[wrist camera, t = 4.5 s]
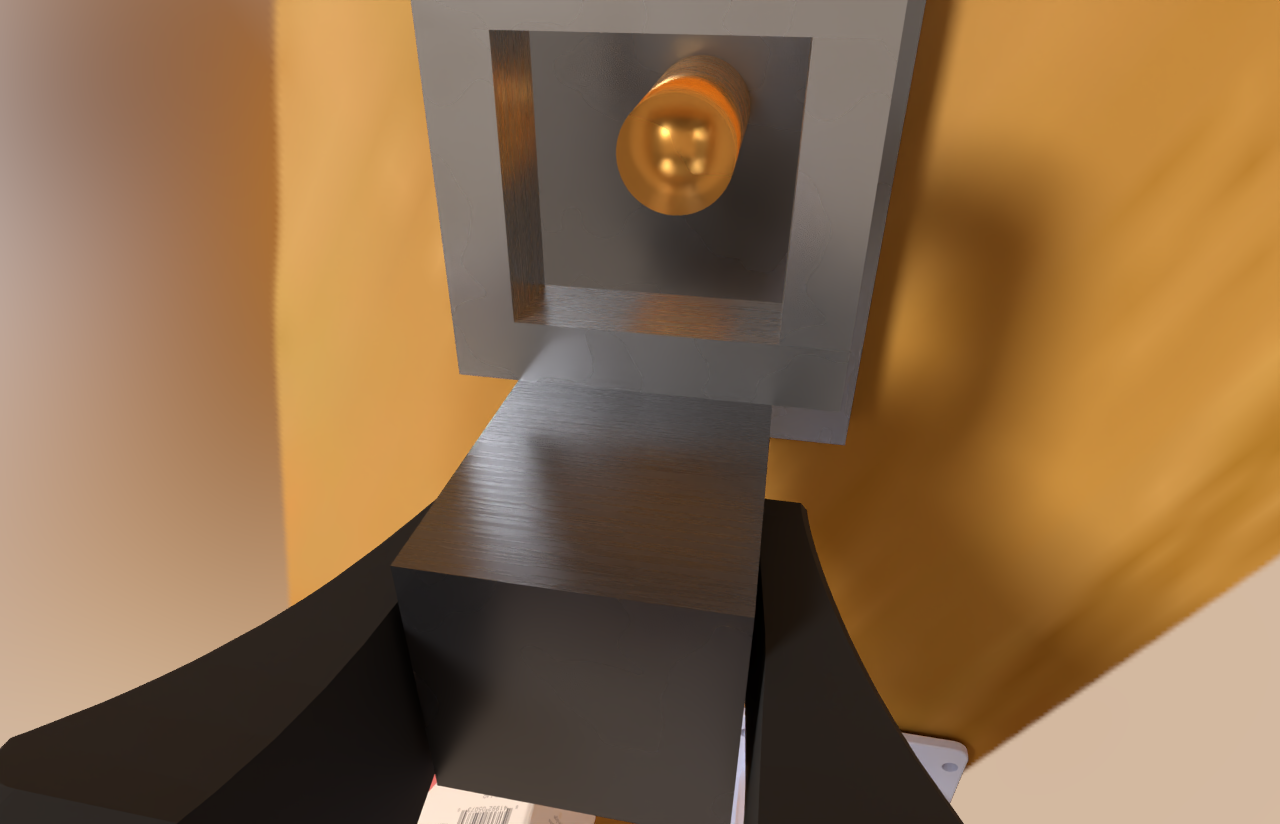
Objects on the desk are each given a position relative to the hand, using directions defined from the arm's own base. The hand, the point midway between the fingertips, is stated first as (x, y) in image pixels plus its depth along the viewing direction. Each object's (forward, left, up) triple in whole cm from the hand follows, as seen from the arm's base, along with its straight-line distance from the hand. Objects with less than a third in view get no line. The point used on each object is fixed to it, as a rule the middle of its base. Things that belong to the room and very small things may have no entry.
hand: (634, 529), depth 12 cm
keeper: (+2, 0, -8) cm, 9 cm away
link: (+3, 0, -2) cm, 4 cm away
